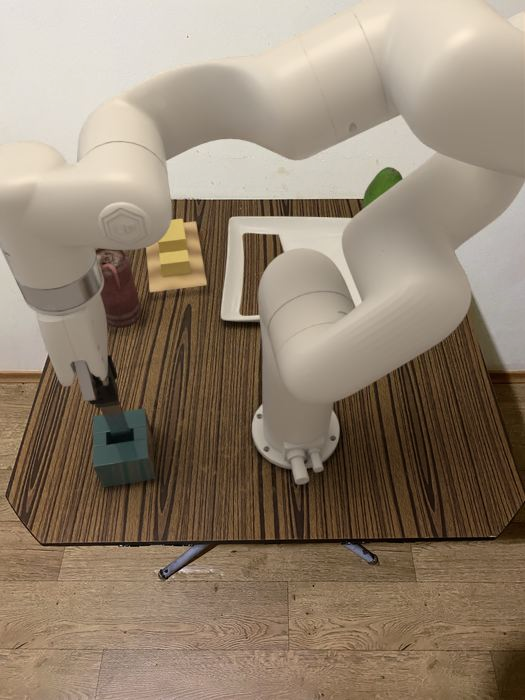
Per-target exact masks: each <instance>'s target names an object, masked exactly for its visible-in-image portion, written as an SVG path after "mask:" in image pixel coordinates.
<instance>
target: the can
mask: <svg viewBox="0 0 525 700" xmlns="http://www.w3.org/2000/svg"><path fill="white" fill-rule="evenodd" d="M95 251H96V255H97V258H98V261H99V264H100V267H101V271H102V274H103V277H104V286H103V289H102V291H101V293H100V295H101V298H102V301H103V305H104V309H105V313H106V320H107V325H109V326H111V327H112V328H118V329H122V328H128V327H132V326H133V325H134V324H136V323H137V322H138V321H140V318H141V316H142V307H141V303H140V299H139V295H138V291H137V286H136V283H135V279H134V275H133V270H132V267H131V263H130V259H129V256H128V254H127V253H126V252H125V250H112V249H101V248H96V249H95Z"/></svg>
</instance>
